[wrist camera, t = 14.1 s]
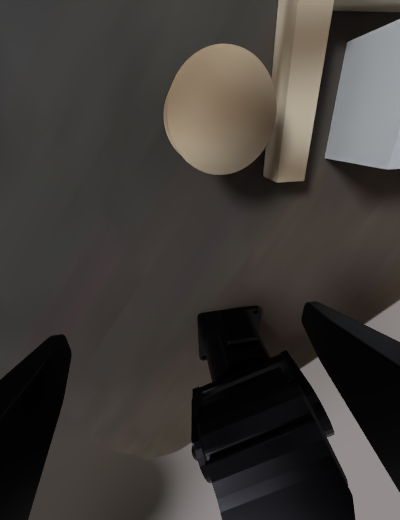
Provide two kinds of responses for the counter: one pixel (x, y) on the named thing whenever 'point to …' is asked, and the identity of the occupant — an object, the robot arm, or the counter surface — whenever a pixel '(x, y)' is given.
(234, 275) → the counter surface
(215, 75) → the wooden spool
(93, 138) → the counter surface
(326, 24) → the notched board
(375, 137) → the tall pale grey block
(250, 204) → the counter surface
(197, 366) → the counter surface
